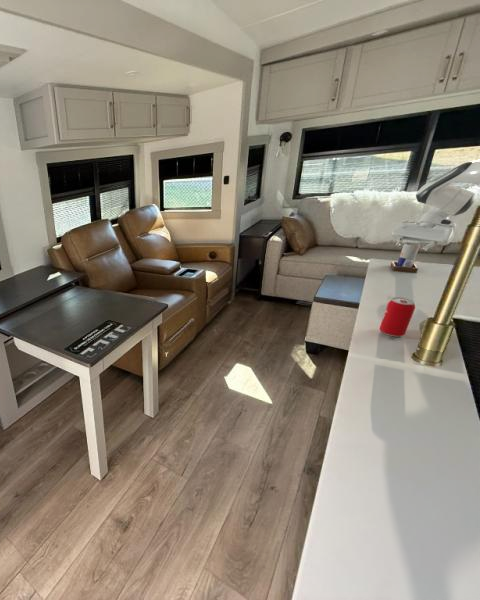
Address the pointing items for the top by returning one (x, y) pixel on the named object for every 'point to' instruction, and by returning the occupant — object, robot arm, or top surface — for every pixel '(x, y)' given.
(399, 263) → the energy drink
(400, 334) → the beverage can
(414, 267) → the serving tray
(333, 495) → the top surface
